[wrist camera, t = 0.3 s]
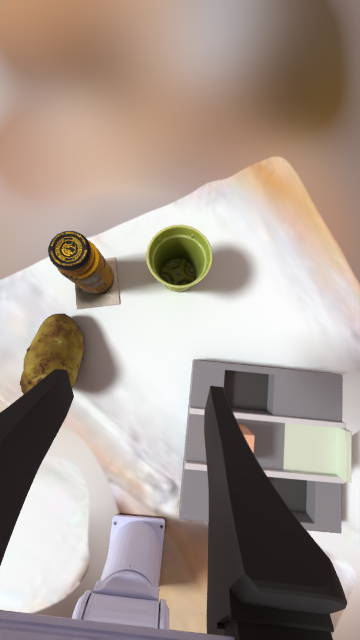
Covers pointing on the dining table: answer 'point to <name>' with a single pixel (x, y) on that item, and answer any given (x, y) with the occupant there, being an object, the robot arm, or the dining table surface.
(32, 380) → the potato
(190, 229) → the plant pot
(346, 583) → the dining table surface
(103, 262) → the condiment
